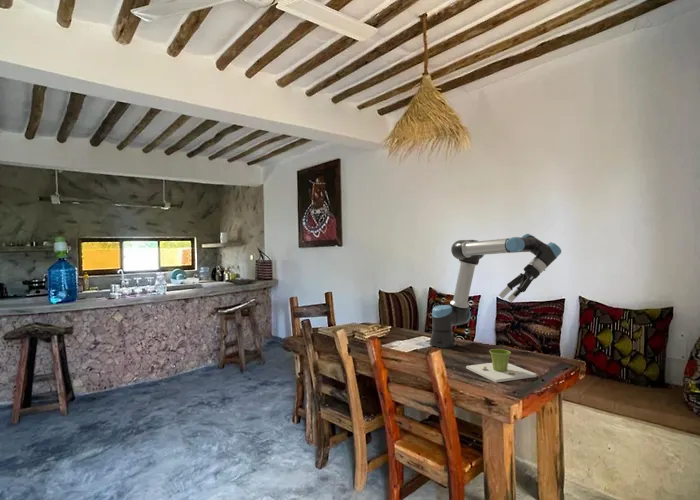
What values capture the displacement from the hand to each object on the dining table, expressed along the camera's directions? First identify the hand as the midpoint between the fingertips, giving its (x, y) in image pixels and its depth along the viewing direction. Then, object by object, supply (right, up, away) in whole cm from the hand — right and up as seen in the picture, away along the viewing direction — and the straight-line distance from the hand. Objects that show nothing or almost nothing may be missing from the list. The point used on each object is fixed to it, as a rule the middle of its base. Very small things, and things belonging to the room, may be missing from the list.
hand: (504, 298), depth 205 cm
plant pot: (-8, -32, -15) cm, 36 cm away
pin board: (-8, -33, -15) cm, 37 cm away
